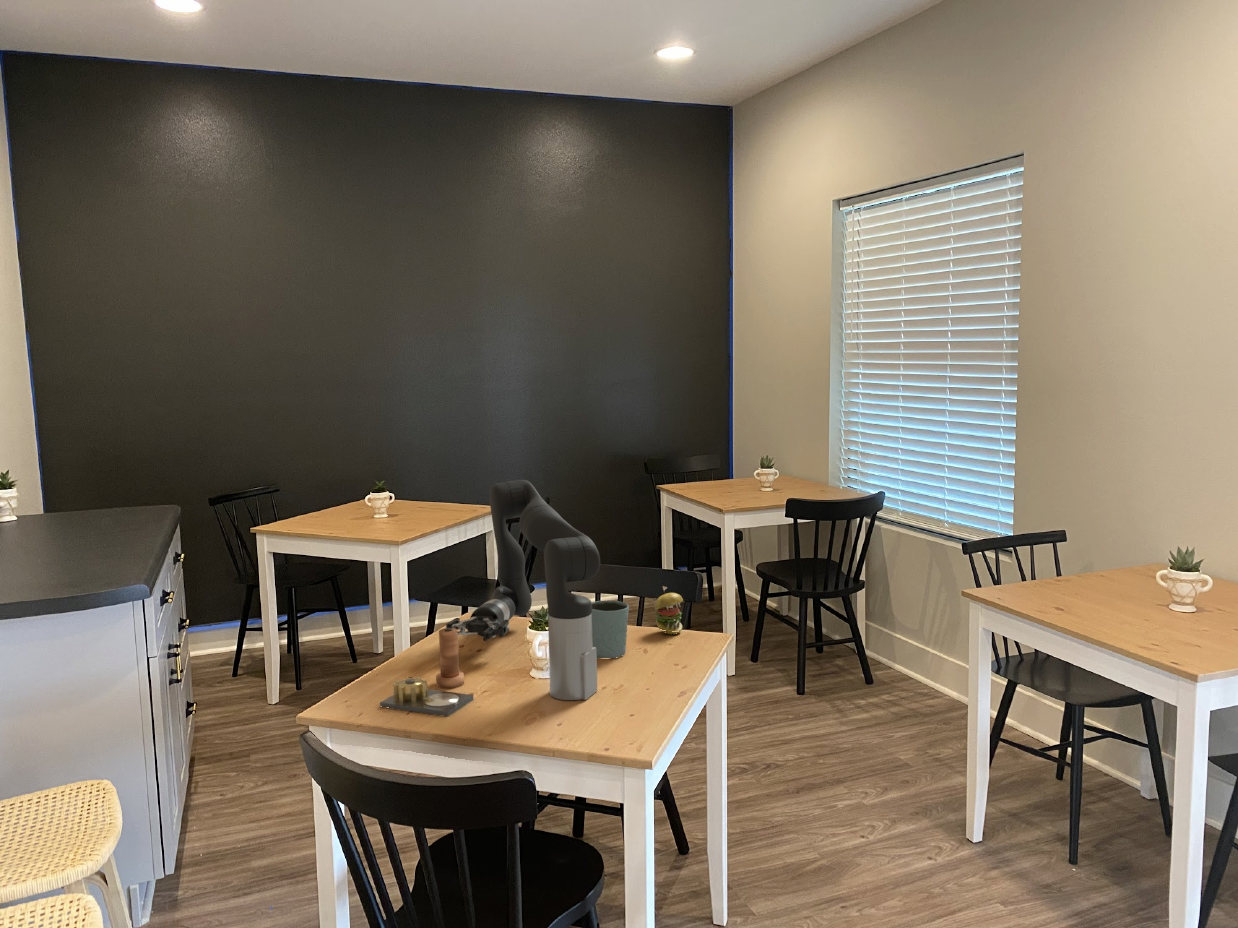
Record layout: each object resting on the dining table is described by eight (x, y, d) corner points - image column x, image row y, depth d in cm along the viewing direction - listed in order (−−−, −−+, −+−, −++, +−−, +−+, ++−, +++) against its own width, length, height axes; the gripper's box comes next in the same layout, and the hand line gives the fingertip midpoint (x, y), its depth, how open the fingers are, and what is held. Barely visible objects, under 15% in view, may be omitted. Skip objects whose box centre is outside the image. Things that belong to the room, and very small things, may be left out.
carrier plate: (473, 699, 190) (473, 693, 190) (447, 716, 181) (447, 710, 181) (408, 691, 196) (408, 685, 196) (380, 707, 187) (380, 700, 187)
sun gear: (433, 692, 192) (433, 677, 191) (415, 703, 185) (414, 687, 185) (406, 689, 194) (405, 673, 194) (387, 700, 188) (386, 684, 188)
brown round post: (469, 680, 202) (467, 626, 201) (454, 689, 196) (452, 633, 195) (445, 678, 204) (443, 624, 203) (430, 686, 199) (428, 631, 197)
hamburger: (668, 638, 232) (668, 591, 231) (648, 632, 237) (648, 587, 236) (689, 632, 237) (688, 586, 236) (669, 626, 242) (669, 582, 241)
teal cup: (589, 647, 225) (588, 600, 224) (630, 647, 225) (629, 599, 223) (586, 660, 215) (585, 610, 214) (629, 660, 214) (628, 610, 213)
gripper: (463, 601, 227) (437, 619, 212) (517, 603, 224) (495, 621, 209) (464, 630, 228) (438, 650, 212) (518, 633, 225) (496, 653, 209)
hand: (466, 636), depth 210 cm, fingers open, 8 cm apart
